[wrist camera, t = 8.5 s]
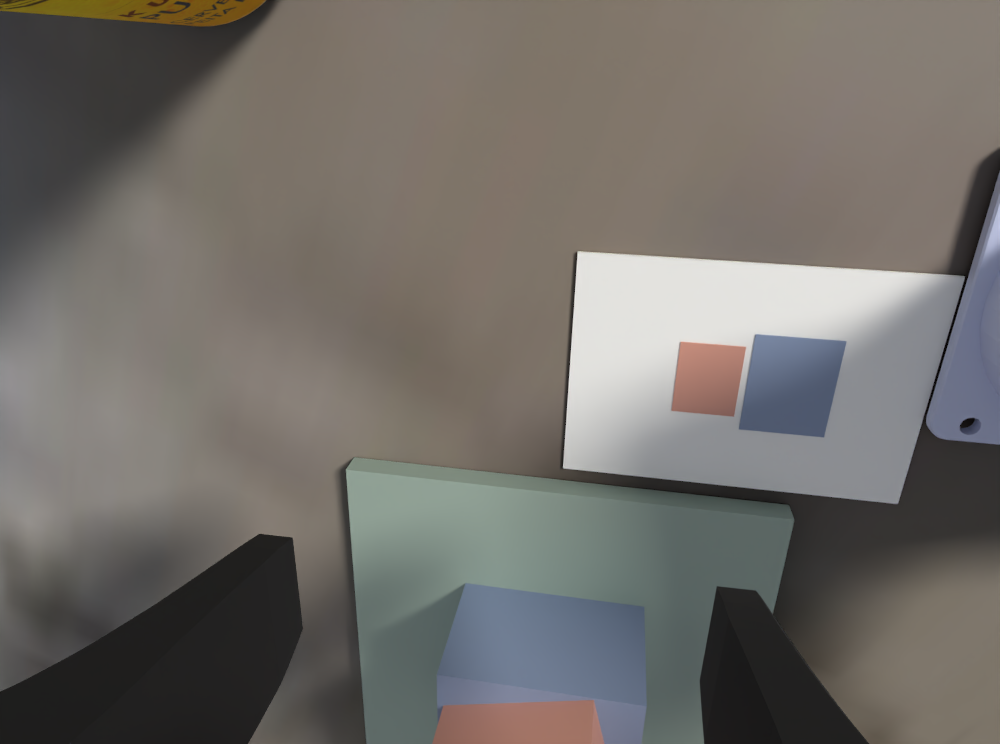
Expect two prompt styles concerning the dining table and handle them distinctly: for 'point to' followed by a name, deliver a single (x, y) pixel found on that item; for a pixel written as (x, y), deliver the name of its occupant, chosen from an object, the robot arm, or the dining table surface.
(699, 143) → the dining table surface
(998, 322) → the robot arm
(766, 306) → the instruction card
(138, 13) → the beer can
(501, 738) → the top brick
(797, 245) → the dining table surface
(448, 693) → the base brick
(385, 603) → the plate
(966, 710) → the dining table surface
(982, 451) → the dining table surface
